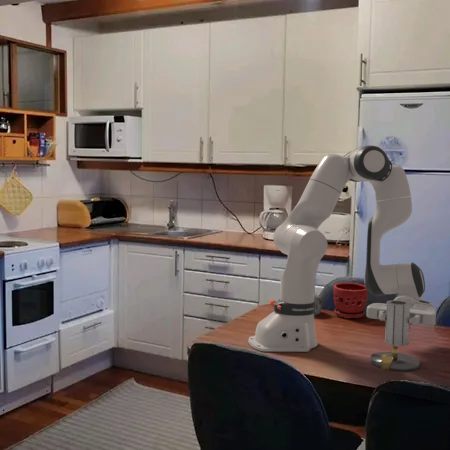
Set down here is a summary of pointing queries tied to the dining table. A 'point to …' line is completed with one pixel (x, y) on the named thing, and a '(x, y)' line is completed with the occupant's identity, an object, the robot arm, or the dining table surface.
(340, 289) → the plant pot
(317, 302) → the spool
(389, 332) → the octagonal pipe segment
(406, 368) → the grey pot lid
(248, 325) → the dining table surface
